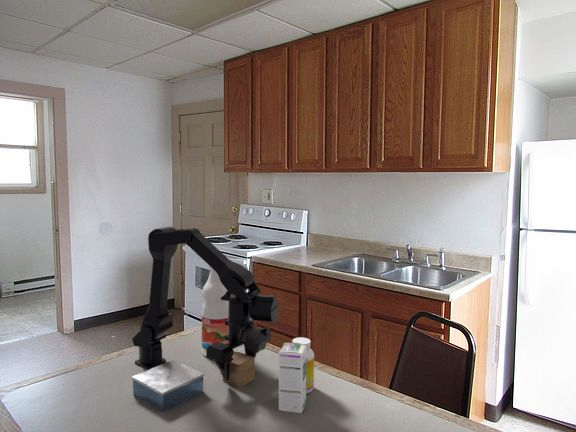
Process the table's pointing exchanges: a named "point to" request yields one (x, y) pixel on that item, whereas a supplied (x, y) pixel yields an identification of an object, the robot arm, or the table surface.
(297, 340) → the supplement bottle
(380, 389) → the table surface
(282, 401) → the syrup box
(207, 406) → the table surface
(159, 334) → the robot arm
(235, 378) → the walnut block
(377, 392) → the table surface
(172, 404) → the slate tin
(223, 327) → the fruit juice
